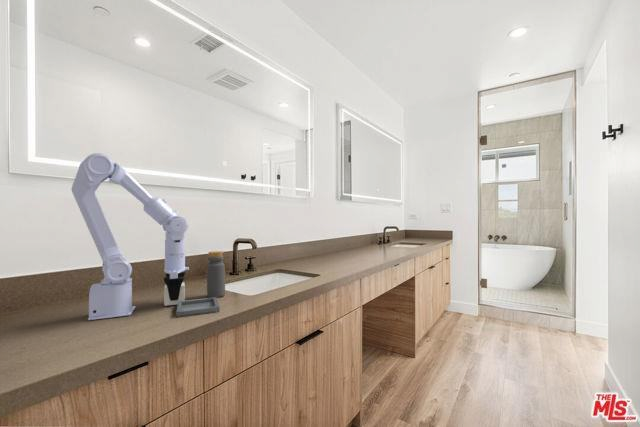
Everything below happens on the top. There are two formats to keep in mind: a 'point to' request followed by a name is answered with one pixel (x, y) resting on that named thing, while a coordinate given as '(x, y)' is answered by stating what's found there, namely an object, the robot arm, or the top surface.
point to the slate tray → (197, 307)
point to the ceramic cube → (174, 302)
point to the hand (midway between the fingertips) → (174, 297)
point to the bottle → (215, 275)
